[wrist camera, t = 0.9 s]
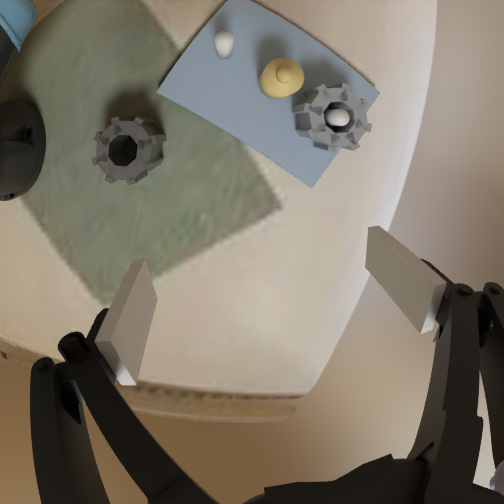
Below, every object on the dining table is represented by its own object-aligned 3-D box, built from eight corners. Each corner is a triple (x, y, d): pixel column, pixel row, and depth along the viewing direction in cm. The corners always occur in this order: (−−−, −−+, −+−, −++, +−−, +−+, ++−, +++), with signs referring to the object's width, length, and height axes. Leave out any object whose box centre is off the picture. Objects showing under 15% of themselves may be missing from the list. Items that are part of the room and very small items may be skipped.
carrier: (158, 93, 28) (141, 85, 21) (234, -4, 23) (237, -30, 16) (309, 186, 35) (328, 201, 28) (375, 93, 30) (406, 90, 23)
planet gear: (107, 173, 31) (90, 181, 27) (113, 116, 28) (96, 115, 24) (161, 179, 32) (151, 187, 28) (169, 119, 29) (160, 118, 25)
